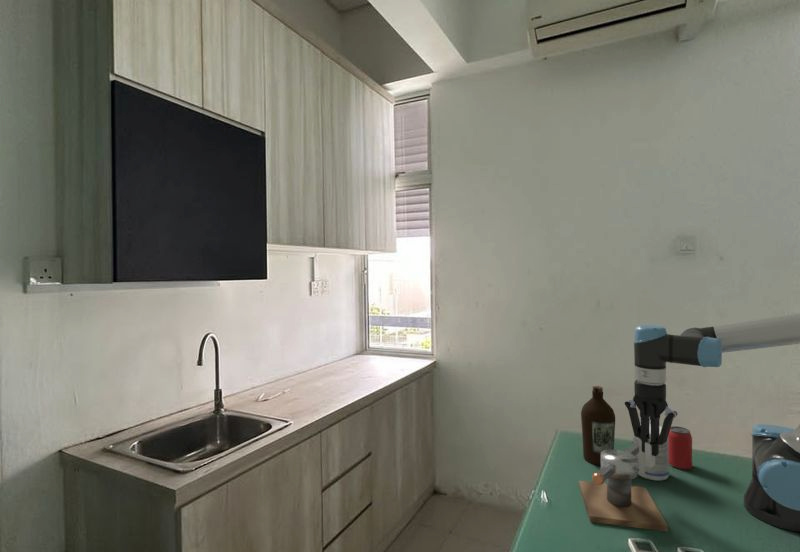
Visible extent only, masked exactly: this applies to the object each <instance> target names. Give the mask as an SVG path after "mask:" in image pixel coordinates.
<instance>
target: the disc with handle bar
mask: <svg viewBox="0 0 800 552" xmlns="http://www.w3.org/2000/svg"><path fill="white" fill-rule="evenodd" d="M637 453H639V446H638V445H634V444H633V443H632V444H631V445H629V446H628V448H626V449H624V450H622V449H621V450H620V449H615V448H614V449H608V450H604V451H602V452H601V465H600V469H599V470H598V471H597V472H594V473H593V474H592V475H591V480H592V482H594V483H595V484H597V485H602V484H603V483H605V482H606V481H607V479H608V478H609V477H610V476H612V477H615V478H619V479H631V480H632V479H636V478H637V477H638V474H637V458H636V457H635V455H636V454H637Z"/></svg>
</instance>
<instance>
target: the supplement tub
mask: <svg viewBox="0 0 800 552" xmlns="http://www.w3.org/2000/svg"><path fill="white" fill-rule="evenodd" d="M640 425H641V422H640ZM661 429H662V426H661V425H659V436H660V433H661ZM650 437H651V423H649V438H650ZM649 440H650V441H651V438H650V439H649ZM632 444H634V445H638V446H639V453H637V454H636V455H635V457H636V458H637V476H640V477H642V478H644V479H646V480H651V481H664V480H667V479H668V478H669V476H670V472H669V471H670V470H669V469H670V468H669V465H670V464H669V457H668V438H667V442H666V443H664V444H662V445H659V454H658V455H657V456H655V465H654V466H653V467H651V468H650V467H647V466H645V453H644V452H642V441H641V439H640V438H638V437H635V436H634V432H633V431H632Z"/></svg>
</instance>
